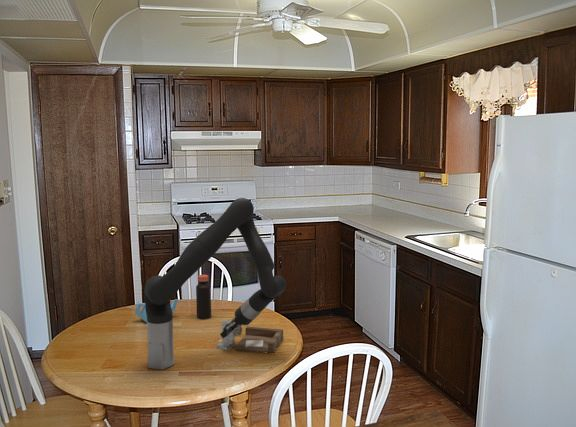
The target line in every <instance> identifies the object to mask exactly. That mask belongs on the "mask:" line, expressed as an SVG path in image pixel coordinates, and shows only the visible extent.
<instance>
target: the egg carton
mask: <svg viewBox="0 0 576 427" xmlns="http://www.w3.org/2000/svg"><path fill="white" fill-rule="evenodd" d="M225 320H226V321H229V320H227V319H225ZM241 330H242V326H240V327H239V328H238V329H236V330H235V331H234V336H239V335H241ZM238 334H239V335H238Z"/></svg>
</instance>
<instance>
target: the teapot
mask: <svg viewBox="0 0 576 427" xmlns="http://www.w3.org/2000/svg"><path fill="white" fill-rule="evenodd" d="M178 302H179V299H178V298H175V299H174V300H173V301H172V303H170V304H171V309H172V314H174V312H175V310H176V307H177V304H178ZM141 307H143V308H142V310H141ZM140 310H141V311H140ZM134 314H135V315H137V317H140V318H141V320H143V322H144V323H146V324H147V315H146V309H145V302H137V303H136V307H135V309H134Z"/></svg>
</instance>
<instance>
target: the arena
mask: <svg viewBox="0 0 576 427" xmlns="http://www.w3.org/2000/svg"><path fill="white" fill-rule="evenodd" d="M282 339H283V340H284V329H278V328H270V327H269V328H268V327H257V326H248V325H246V327H245V335H244V336H243V337H242V338H241V340H239V341H238V342H237V344H236V345H235V346H233V349H234V351H240V350H241V352H242V351H243V352H250V351H252V353H259V352H267V353H266V354H269V353H273V354H275V352H274V351H277V349H278V347H279V346H280V344H281V343H282V342H283V340H282ZM280 342H281V343H280ZM278 345H279V346H278ZM276 348H277V349H276Z"/></svg>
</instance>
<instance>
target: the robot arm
mask: <svg viewBox="0 0 576 427" xmlns="http://www.w3.org/2000/svg"><path fill="white" fill-rule="evenodd" d="M254 211H255V208H254V203H253V202H252V201H251V200H250V199H248V198H246V197H245V198H244V197H238V198H236V199H234V200H233V201H232V202H231V203H230V204H229V206H228V207H227V208H226V210H225V211H224V212H223V214H221V215H220V216H219V218H218V219H217V220H215V221H214V222H213V223H212V224H210V225H209V226H208V227H207V228H206V229H205V230H203V231H202V232H200V234H198V235H197V236H196V237H195V238H194V239H193V240H191V242H189V244H188V245H187V246H186V247H185V249H184V250H183V251H182V252H181V254H180V256H179V257H178V259H177V261H176V262H175V264H174V265H173V267H172V268H171V269H170V270H168V272H166V273H165V274H164V275H159V274H158V275H153V276H151V277H150V278H149V279H148V280H146V282H145V285H144V303H145V309H146V315H147V323H146V325H147V326H146V327H147V328H146V330H147V344H146V347H147V349H146V350H147V368H148V369H155V370H165V369H167V368H169V367H170V368H171V367H172V366H174V364H175V353H174V351H175V350H174V321H173V320H174V318H173V314H174V313H173V314H172V309H171V304H172V303H171V300H172V299H173V297H174V296H175V295H176V294H177V293H178V292H179V290H180V289H181V288H182V286H183V285H184V284H185V283H186V282H187V281H188V280H189V279H190V278H191V277H192V276H193V275H194V274H196V272H198V271H199V269H200V268H202V266H204V265H205V264H206V263H207V262H208V261H209V260H210V259H211V258H212V257H213V256H214V255H215V254H216V253H217V252H218V251H219V250H220V249H221V247H222V246H223V245H224V243H225V242H226V241H227V240H228V238H229V237H230V236H231V235H232V234H233V233H234V232H235V231H236V230H237V229H238V232H239V233H240V235H241V236H242V239H243V240H244V243H245V246H246V248H247V250H248V252H249V255H250V257H251V260H252V263H253V265H254V268H255V269H256V271H257V276H258V277H257V278H258V282H259V286H260V289H258V290H256V291H255V292H253V294H252V295H251V296H250V297H249V298H247V299H246V300H245V301H244V302H243V303H242V304H241V305H240V306H239V307H238V308H236V310H235V311H234V317H233V318H232V319H231V320H230V321H231V322H230V323H229V324H226V326H225V327H224V329H223V332H222V331H221V332H220V336H221V339H222V338H225V337H226V336H227V335H228V334H229V333H230V332H231V331H235V330H236V329H238V328H239V327H240V326H241V327H242V326H248V325H250V324H251V323H252V322H253V321H254V320H255V319H256V318H257V317H258V316H259V315H260V314H261V313H262V311H264V310H265V308H267V306H268V305H269V304H270V303H271V302H273V301H274V300H275V299H277V298H278V297H279V296H281V294H283V293H284V292H285V290H286V288H287V280H286V279H285V278H284V277H283V276H281V275H274V273H273V270H274V269H275V263H274V260H273V258H272V255H271V253H270V252H269V249H268V247H267V245H266V244H265V242H264V240H263V239H262V237H261V235H260V233H259V231H258V229H257V227H256V224H255V221H254V217H253V216H254Z"/></svg>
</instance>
